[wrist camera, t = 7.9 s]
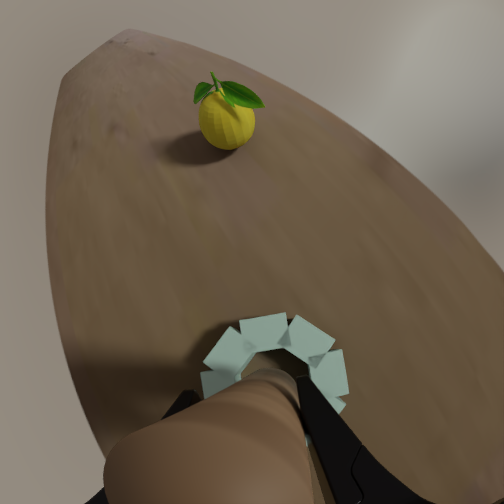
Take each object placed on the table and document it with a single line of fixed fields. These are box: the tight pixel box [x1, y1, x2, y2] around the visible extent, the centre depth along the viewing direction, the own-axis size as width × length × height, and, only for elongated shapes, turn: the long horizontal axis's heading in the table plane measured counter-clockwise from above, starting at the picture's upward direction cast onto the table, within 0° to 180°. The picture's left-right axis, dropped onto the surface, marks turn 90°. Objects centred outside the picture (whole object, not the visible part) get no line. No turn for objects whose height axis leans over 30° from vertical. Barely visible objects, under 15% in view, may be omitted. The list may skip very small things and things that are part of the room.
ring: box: [200, 313, 349, 446], centre depth 19 cm, size 10×10×2 cm
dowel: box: [103, 368, 314, 504], centre depth 9 cm, size 3×3×13 cm
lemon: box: [194, 72, 265, 150], centre depth 24 cm, size 7×6×10 cm
